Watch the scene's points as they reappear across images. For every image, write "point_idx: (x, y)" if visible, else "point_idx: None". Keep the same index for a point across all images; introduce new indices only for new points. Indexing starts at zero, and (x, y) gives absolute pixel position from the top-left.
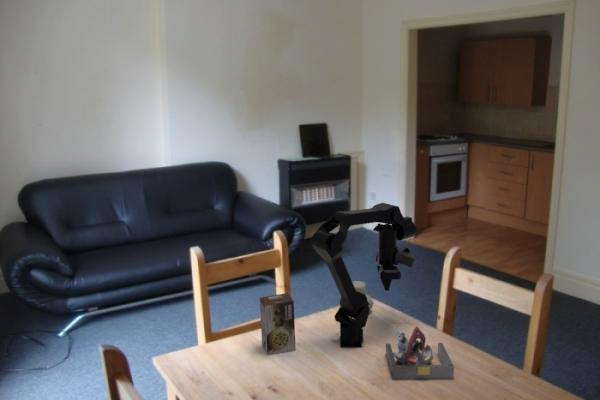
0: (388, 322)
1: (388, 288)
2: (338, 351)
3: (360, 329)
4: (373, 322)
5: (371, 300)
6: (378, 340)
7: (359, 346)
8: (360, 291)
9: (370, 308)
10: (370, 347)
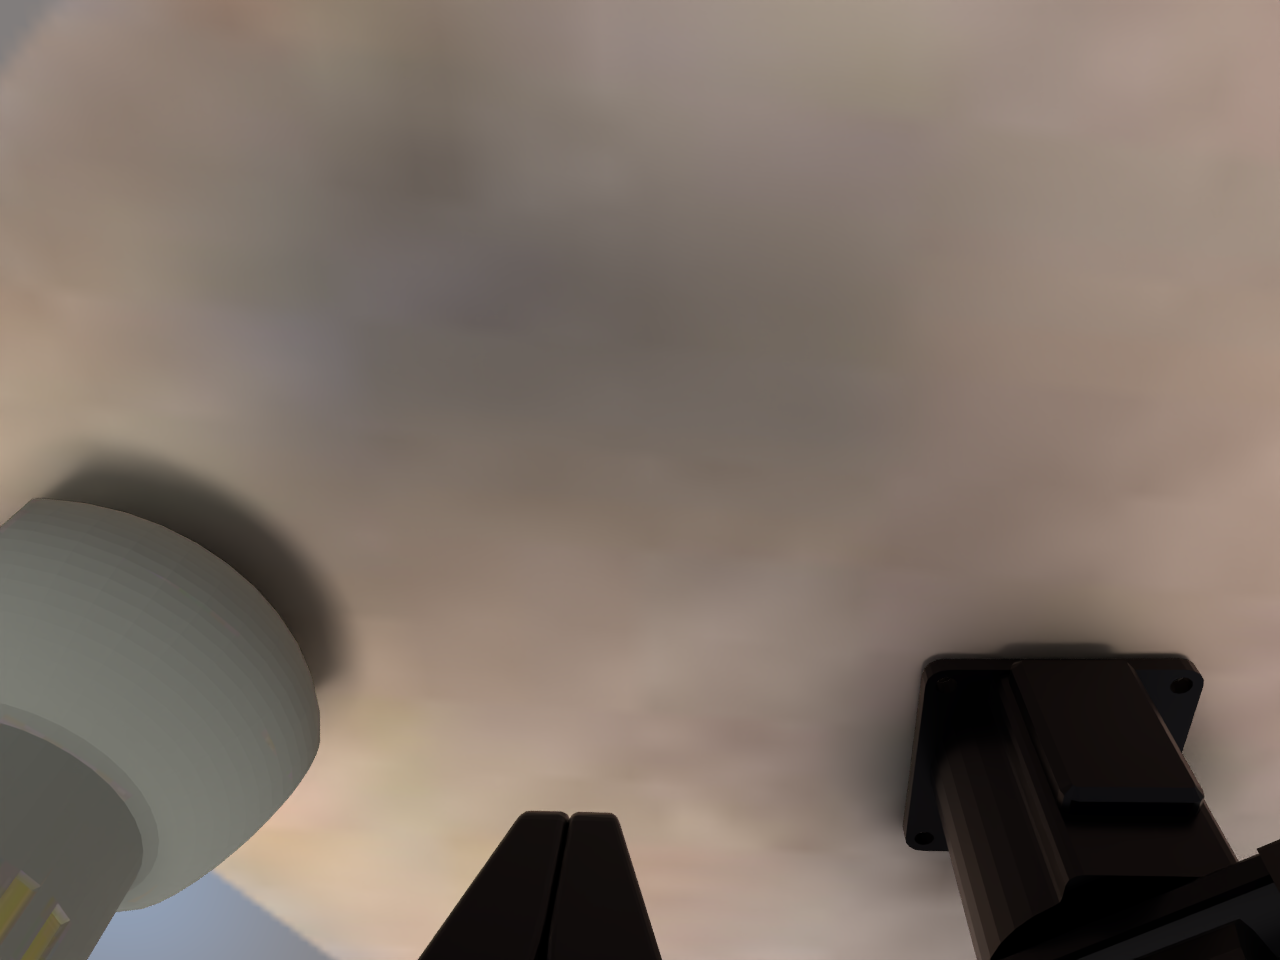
0: (439, 256)
1: (636, 901)
2: None
3: (1225, 840)
4: (467, 469)
5: (19, 584)
6: (1039, 455)
7: (1196, 688)
8: (42, 895)
9: (174, 545)
10: (1216, 565)
